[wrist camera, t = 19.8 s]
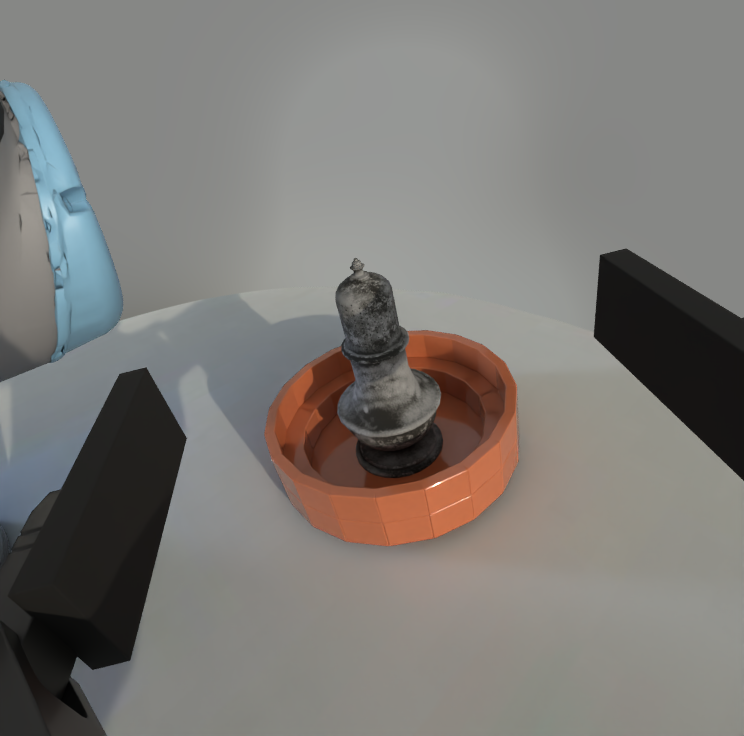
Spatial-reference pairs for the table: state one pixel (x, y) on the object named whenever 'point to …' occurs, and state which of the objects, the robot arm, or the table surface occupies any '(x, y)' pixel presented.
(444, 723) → the table surface
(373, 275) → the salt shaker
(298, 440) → the bowl
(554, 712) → the table surface
